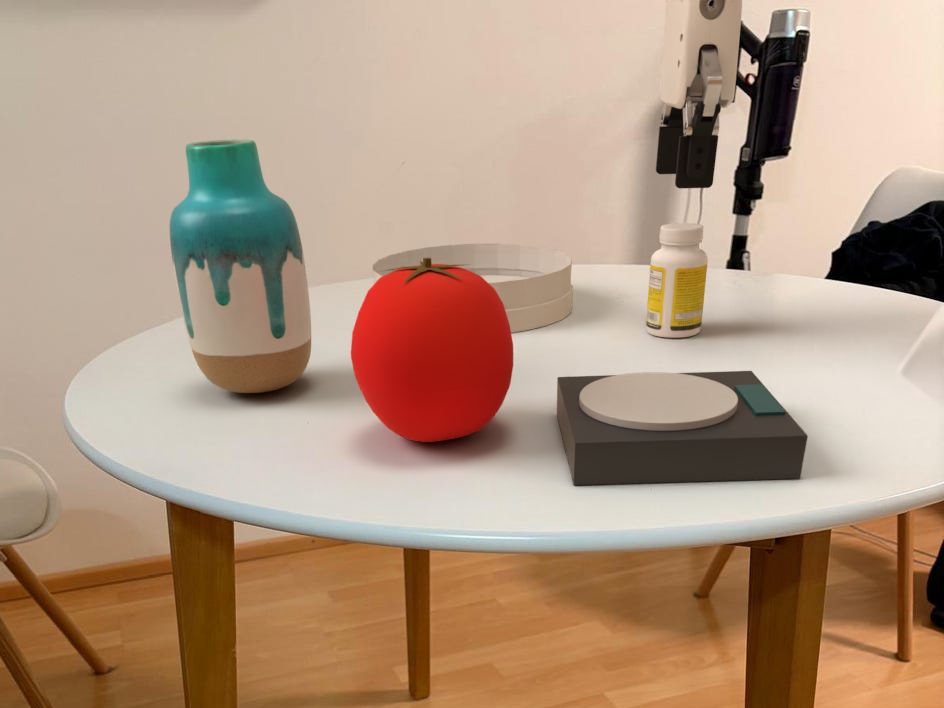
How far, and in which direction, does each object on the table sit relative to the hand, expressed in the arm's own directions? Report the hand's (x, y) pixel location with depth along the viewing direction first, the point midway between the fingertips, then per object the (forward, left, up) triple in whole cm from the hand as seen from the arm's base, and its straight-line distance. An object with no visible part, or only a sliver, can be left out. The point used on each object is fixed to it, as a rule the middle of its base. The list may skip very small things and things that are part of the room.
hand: (682, 180), depth 84 cm
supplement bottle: (0, 0, -14) cm, 14 cm away
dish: (+20, -12, -14) cm, 27 cm away
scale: (+6, +30, -14) cm, 34 cm away
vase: (+39, +14, -14) cm, 43 cm away
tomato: (+23, +27, -14) cm, 38 cm away
